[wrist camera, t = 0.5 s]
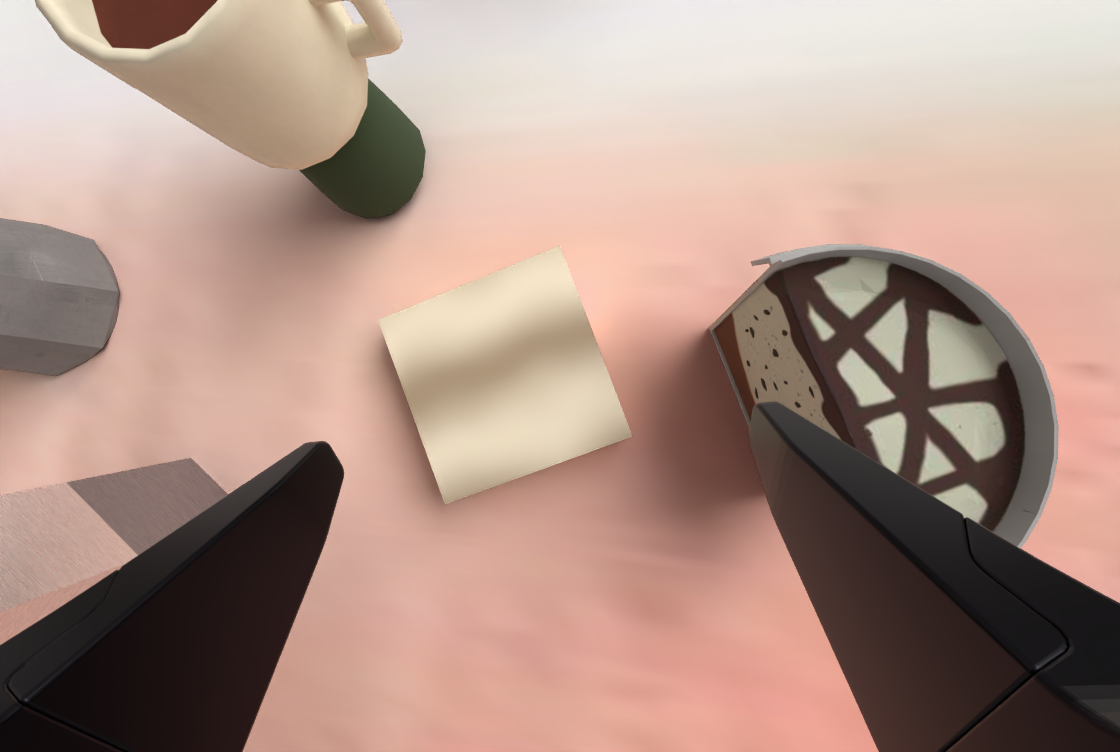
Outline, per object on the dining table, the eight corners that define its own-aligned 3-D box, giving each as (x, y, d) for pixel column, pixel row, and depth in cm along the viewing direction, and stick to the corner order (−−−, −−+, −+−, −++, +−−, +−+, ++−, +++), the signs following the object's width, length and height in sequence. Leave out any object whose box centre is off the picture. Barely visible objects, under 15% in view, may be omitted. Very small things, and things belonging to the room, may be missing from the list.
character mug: (464, 91, 24) (308, -241, 11) (477, 215, 24) (334, 26, 11) (284, 121, 25) (-49, -151, 12) (296, 241, 25) (-29, 95, 12)
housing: (248, 514, 25) (-66, 638, 13) (197, 576, 26) (-157, 751, 14) (190, 458, 26) (-167, 528, 14) (140, 519, 26) (-253, 640, 14)
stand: (629, 430, 23) (632, 436, 21) (461, 491, 24) (445, 504, 22) (563, 259, 24) (559, 245, 21) (400, 326, 24) (378, 320, 22)
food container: (902, 479, 22) (1153, 563, 12) (785, 519, 22) (933, 632, 13) (810, 257, 22) (979, 161, 12) (698, 302, 23) (774, 243, 13)
